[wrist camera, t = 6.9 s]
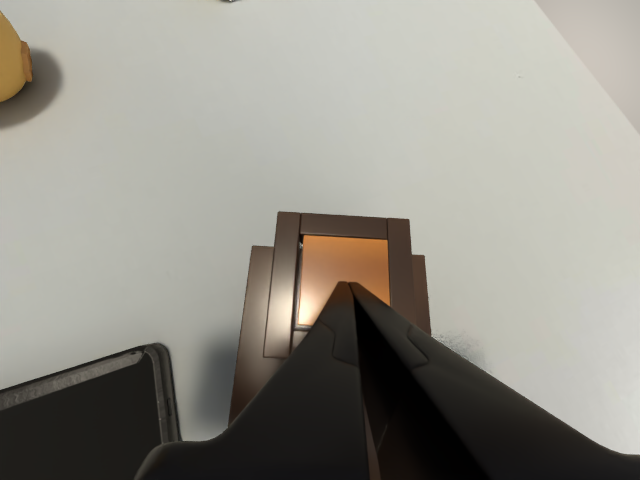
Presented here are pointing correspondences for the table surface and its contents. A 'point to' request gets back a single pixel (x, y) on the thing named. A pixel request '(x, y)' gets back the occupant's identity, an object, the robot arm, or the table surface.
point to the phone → (89, 418)
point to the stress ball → (12, 61)
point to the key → (340, 270)
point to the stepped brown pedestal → (284, 289)
